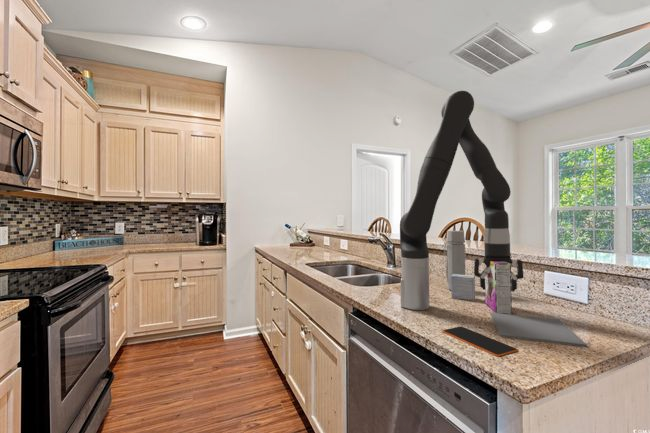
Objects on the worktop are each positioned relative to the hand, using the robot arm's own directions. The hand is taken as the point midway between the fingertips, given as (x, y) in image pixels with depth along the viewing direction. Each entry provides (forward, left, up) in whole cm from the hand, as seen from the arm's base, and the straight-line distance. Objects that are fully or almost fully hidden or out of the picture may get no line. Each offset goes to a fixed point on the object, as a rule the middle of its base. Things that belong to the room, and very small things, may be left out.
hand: (498, 290), depth 102 cm
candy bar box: (0, 0, -7) cm, 7 cm away
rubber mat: (+6, -17, -6) cm, 19 cm away
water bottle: (-13, +24, -7) cm, 28 cm away
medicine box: (-10, +11, -7) cm, 16 cm away
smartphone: (-9, -31, -7) cm, 33 cm away
